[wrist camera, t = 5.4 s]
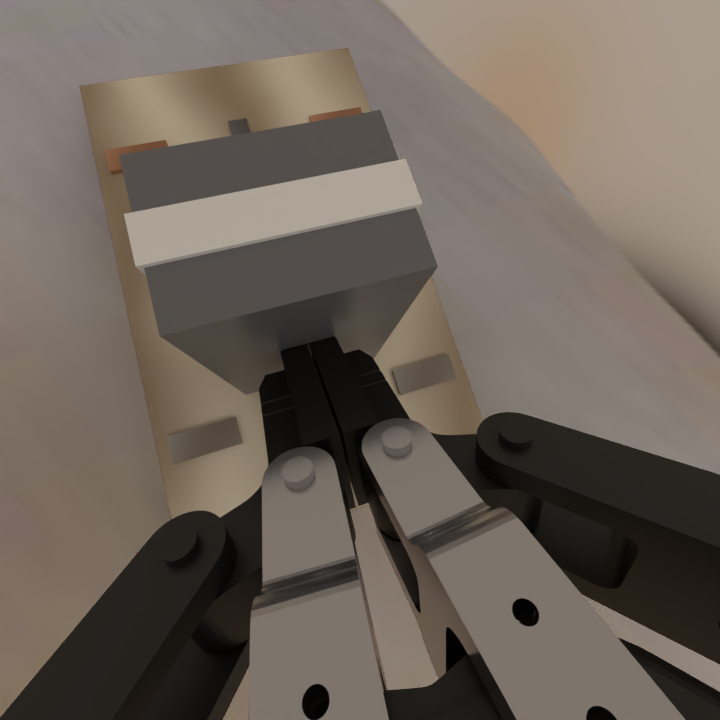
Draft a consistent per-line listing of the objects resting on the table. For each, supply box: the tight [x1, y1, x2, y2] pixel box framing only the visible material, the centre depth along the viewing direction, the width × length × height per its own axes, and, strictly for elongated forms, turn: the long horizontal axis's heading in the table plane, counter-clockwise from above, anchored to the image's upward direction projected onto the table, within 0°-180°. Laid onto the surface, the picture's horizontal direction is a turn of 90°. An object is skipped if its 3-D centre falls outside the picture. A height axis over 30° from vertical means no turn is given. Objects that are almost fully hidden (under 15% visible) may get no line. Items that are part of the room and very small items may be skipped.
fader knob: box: [119, 110, 438, 394], centre depth 11 cm, size 5×4×8 cm
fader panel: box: [80, 48, 483, 519], centre depth 17 cm, size 12×20×2 cm, turn 17°
